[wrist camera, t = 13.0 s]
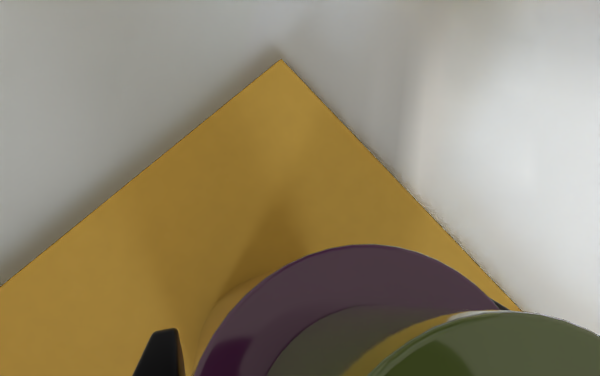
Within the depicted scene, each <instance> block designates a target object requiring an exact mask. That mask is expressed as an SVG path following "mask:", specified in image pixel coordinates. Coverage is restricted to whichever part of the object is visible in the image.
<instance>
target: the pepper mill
mask: <svg viewBox="0 0 600 376" xmlns="http://www.w3.org/2000/svg"><path fill="white" fill-rule="evenodd" d="M190 376H600V336H599V335H597V334H595V333H594V332H592V331H590V330H588V329H586V328H584V327H581V326H578V325H576V324H573V323H571V322H568V321H566V320H563V319H559V318H555V317H551V316H547V315H543V314H539V313H531V312H520V311H507V310H500V309H499V308H498V307H497V305H496V304H495V303H494V302H493V301H492V300H491V299H490V298H489V297H488V296H487V295H486V294H485V293H484V292H483V291H482V290H481V289H480V288H479V287H478V286H477V285H476V284H474V283H473V282H472V281H470V280H469V279H468V278H466V277H465V276H463V275H462V274H461V273H459V272H458V271H457V270H455V269H453V268H451V267H449V266H448V265H446V264H444V263H442V262H441V261H439V260H437V259H434V258H432V257H429V256H427V255H424V254H422V253H419V252H416V251H413V250H409V249H405V248H401V247H397V246H389V245H380V244H350V245H344V246H338V247H332V248H327V249H324V250H321V251H318V252H314V253H311V254H308V255H305V256H303V257H301V258H298V259H296V260H293V261H291V262H289V263H286V264H284V265H282V266H279V267H277V268H275V269H272V270H270V271H268V272H265V273H263V274H260V275H258V276H256V277H253V278H251V279H249V280H247V281H244V282H242V283H240V284H238V285H237V286H235V287H234V288H232V289H231V290H229V291H228V292H227V293H226V294H225V295H223V296H222V298H221V299H220V300H219V301H218V302H217V303H216V304H215V305H214V307H213V308H212V310H211V311H210V312H209V314H208V316H207V318H206V320H205V322H204V324H203V327H202V329H201V332H200V336H199V340H198V344H197V348H196V353H195V357H194V362H193V366H192V371H191V375H190Z"/></svg>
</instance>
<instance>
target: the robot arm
mask: <svg viewBox="0 0 600 376" xmlns="http://www.w3.org/2000/svg"><path fill="white" fill-rule="evenodd" d="M489 298H490V297H489ZM490 299H491V298H490ZM491 300H492V301H493V302H494V303H495V304H496V305H497V307H498V308H499V309H500V310H507V311H511V310H509V309H508V308H506V307H504V306H503V305H501V304H499V303H498V302H496V301H494V300H493V299H491ZM132 376H186V375H185V365H184V359H183V353H182V348H181V343H180V338H179V333H178V330H177V329H176V328H169V329H164V330H159V331H155V332H154V333H152V335H151V337H150V339H149V341H148V343H147V345H146V347H145V349H144V351H143V354H142V356H141V358H140V360H139V362H138V364H137V366H136V369H135V371H134V373H133V375H132Z"/></svg>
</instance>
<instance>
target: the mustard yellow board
mask: <svg viewBox="0 0 600 376" xmlns="http://www.w3.org/2000/svg"><path fill="white" fill-rule="evenodd" d="M350 244H380V245H389V246H397V247H401V248H405V249H409V250H413V251H416V252H419V253H422V254H424V255H427V256H429V257H432V258H434V259H437V260H439V261H441V262H442V263H444V264H446V265H448V266H449V267H451V268H453V269H455V270H457V271H458V272H459V273H461V274H462V275H463V276H465V277H466V278H468V279H469V280H470V281H472V282H473V283H474V284H476V285H477V286H478V287H479V288H480V289H481V290H482V291H483V292H484V293H485V294H486V295H487V296H488V297H490V298H491V299H493V300H494V301H496V302H498V303H499V304H501V305H503V306H504V307H506V308H508V309H509V310H511V311H520V312H522V311H521V310H520V309H519V308H518V307H517V306H516V305H515V303H514V302H513V301H512V300H511V299H510V298H509V297H508V296H507V295H506V294H505V293H504V292H503V291H502V290H501V289H500V288H499V287H498V286H497V285H496V284H495V283H494V281H493V280H492V279H491V278H490V277H489V276H488V275H487V274H486V273H485V272H484V271H483V270H482V269H481V268H480V267H479V266H478V265H477V264H476V263H475V262H474V260H473V259H472V258H471V257H470V256H469V255H468V254H467V253H466V252H465V251H464V250H463V249H462V248H461V247H460V246H459V245H458V244H457V243H456V242H455V241H454V240H453V238H452V237H451V236H450V235H449V234H448V233H447V232H446V231H445V230H444V229H443V228H442V227H441V226H440V225H439V224H438V223H437V222H436V221H435V220H434V219H433V217H432V216H431V215H430V214H429V213H428V212H427V211H426V210H425V209H424V208H423V207H422V206H421V205H420V204H419V203H418V202H417V201H416V200H415V199H414V198H413V197H412V195H411V194H410V193H409V192H408V191H407V190H406V189H405V188H404V187H403V186H402V185H401V184H400V183H399V182H398V181H397V180H396V179H395V178H394V177H393V176H392V174H391V173H390V172H389V171H388V170H387V169H386V168H385V167H384V166H383V165H382V164H381V163H380V162H379V161H378V160H377V159H376V158H375V157H374V156H373V155H372V154H371V152H370V151H369V150H368V149H367V148H366V147H365V146H364V145H363V144H362V143H361V142H360V141H359V140H358V139H357V138H356V137H355V136H354V135H353V134H352V133H351V131H350V130H349V129H348V128H347V127H346V126H345V125H344V124H343V123H342V122H341V121H340V120H339V119H338V118H337V117H336V116H335V115H334V114H333V113H332V112H331V110H330V109H329V108H328V107H327V106H326V105H325V104H324V103H323V102H322V101H321V100H320V99H319V98H318V97H317V96H316V95H315V94H314V93H313V92H312V91H311V90H310V88H309V87H308V86H307V85H306V84H305V83H304V82H303V81H302V80H301V79H300V78H299V77H298V76H297V75H296V74H295V73H294V72H293V71H292V70H291V69H290V67H289V66H288V65H287V64H286V63H285V62H284V61H283V60H282V59H280V60H279V61H278V62H276V63H275V64H274V65H273V66H271V67H270V68H269V69H268V70H267V71H265V72H264V73H263V74H262V75H260V76H259V77H258V78H257V79H255V80H254V81H253V82H252V83H251V84H249V85H248V86H247V87H246V88H244V89H243V90H242V91H241V92H239V93H238V94H237V95H236V96H235V97H233V98H232V99H231V100H230V101H228V102H227V103H226V104H225V105H223V106H222V107H221V108H220V109H219V110H217V111H216V112H215V113H214V114H212V115H211V116H210V117H209V118H207V119H206V120H205V121H204V122H203V123H201V124H200V125H199V126H198V127H196V128H195V129H194V130H193V131H191V132H190V133H189V134H188V135H187V136H185V137H184V138H183V139H182V140H180V141H179V142H178V143H177V144H175V145H174V146H173V147H172V148H171V149H169V150H168V151H167V152H166V153H164V154H163V155H162V156H161V157H159V158H158V159H157V160H156V161H155V162H153V163H152V164H151V165H150V166H148V167H147V168H146V169H145V170H143V171H142V172H141V173H140V174H139V175H137V176H136V177H135V178H134V179H132V180H131V181H130V182H129V183H127V184H126V185H125V186H124V187H123V188H121V189H120V190H119V191H118V192H116V193H115V194H114V195H113V196H111V197H110V198H109V199H108V200H107V201H105V202H104V203H103V204H102V205H100V206H99V207H98V208H97V209H95V210H94V211H93V212H92V213H91V214H89V215H88V216H87V217H86V218H84V219H83V220H82V221H81V222H79V223H78V224H77V225H76V226H75V227H73V228H72V229H71V230H70V231H68V232H67V233H66V234H65V235H63V236H62V237H61V238H60V239H59V240H57V241H56V242H55V243H54V244H52V245H51V246H50V247H49V248H47V249H46V250H45V251H44V252H43V253H41V254H40V255H39V256H38V257H36V258H35V259H34V260H33V261H31V262H30V263H29V264H28V265H27V266H25V267H24V268H23V269H22V270H20V271H19V272H18V273H17V274H15V275H14V276H13V277H12V278H11V279H9V280H8V281H7V282H6V283H4V284H3V285H2V286H1V287H0V376H132V375H133V373H134V371H135V369H136V366H137V364H138V362H139V360H140V358H141V356H142V354H143V351H144V349H145V347H146V345H147V343H148V341H149V339H150V337H151V335H152V333H154V332H155V331H159V330H164V329H169V328H176V329H177V330H178V333H179V338H180V343H181V348H182V353H183V359H184V365H185V375H186V376H190V375H191V371H192V366H193V362H194V357H195V353H196V348H197V344H198V340H199V336H200V332H201V329H202V327H203V324H204V322H205V320H206V318H207V316H208V314H209V312H210V311H211V310H212V308H213V307H214V305H215V304H216V303H217V302H218V301H219V300H220V299H221V298H222V296H223V295H225V294H226V293H227V292H228V291H229V290H231V289H232V288H234V287H235V286H237V285H238V284H240V283H242V282H244V281H247V280H249V279H251V278H253V277H256V276H258V275H260V274H263V273H265V272H268V271H270V270H272V269H275V268H277V267H279V266H282V265H284V264H286V263H289V262H291V261H293V260H296V259H298V258H301V257H303V256H305V255H308V254H311V253H314V252H318V251H321V250H324V249H327V248H332V247H338V246H344V245H350Z"/></svg>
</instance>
